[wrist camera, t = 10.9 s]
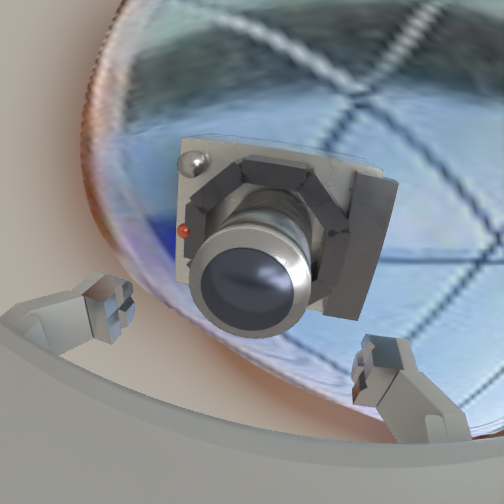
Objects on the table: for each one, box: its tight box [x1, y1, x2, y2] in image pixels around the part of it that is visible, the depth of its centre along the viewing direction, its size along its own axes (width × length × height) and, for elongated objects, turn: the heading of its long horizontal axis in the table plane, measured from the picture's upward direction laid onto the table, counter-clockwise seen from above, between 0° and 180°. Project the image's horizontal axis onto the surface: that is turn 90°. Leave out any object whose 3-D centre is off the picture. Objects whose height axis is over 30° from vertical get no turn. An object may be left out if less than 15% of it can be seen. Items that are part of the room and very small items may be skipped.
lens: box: [189, 191, 312, 339], centre depth 15 cm, size 5×5×7 cm
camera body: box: [176, 134, 399, 321], centre depth 20 cm, size 13×10×9 cm
